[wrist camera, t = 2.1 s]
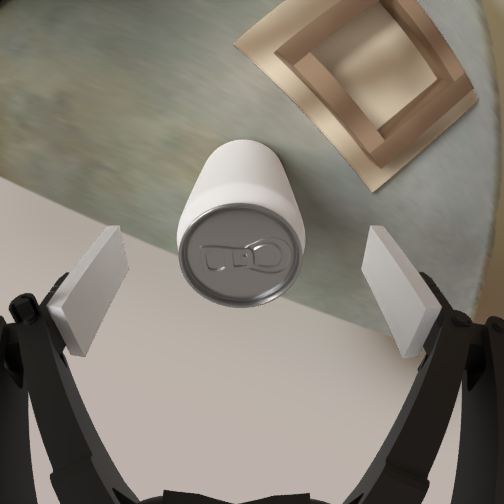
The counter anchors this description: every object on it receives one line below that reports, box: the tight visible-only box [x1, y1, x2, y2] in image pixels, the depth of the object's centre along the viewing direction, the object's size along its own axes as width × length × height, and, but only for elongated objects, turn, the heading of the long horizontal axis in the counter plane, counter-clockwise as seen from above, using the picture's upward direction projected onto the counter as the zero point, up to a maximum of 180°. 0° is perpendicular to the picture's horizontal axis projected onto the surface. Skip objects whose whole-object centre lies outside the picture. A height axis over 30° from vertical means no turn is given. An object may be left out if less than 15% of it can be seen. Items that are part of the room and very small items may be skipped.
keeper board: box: [233, 0, 478, 193], centre depth 18 cm, size 16×14×3 cm
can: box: [177, 140, 305, 308], centre depth 19 cm, size 6×6×12 cm
